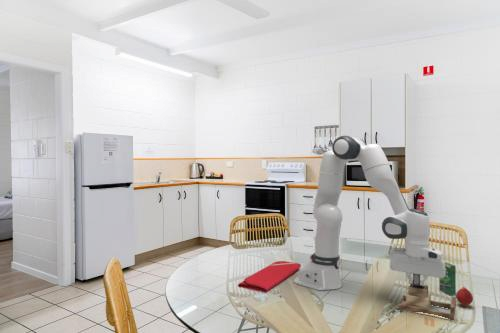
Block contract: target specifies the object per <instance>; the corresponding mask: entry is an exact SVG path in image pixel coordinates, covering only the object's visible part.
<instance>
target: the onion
mask: <svg viewBox="0 0 500 333" xmlns="http://www.w3.org/2000/svg"><path fill="white" fill-rule="evenodd" d="M455 297H456V301H457V302H458V303H459V304H460V305H461V306H462V307H468V306H470V305H471V304H472V303H473V302H474V301H473V300H474V296H473V294H472V293H471V291H470V290H469V289H467V288H466V286H463V285H462V287H461V288H460V289H459V290H457V291H456V295H455Z"/></svg>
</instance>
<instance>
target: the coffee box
mask: <svg viewBox="0 0 500 333" xmlns="http://www.w3.org/2000/svg"><path fill="white" fill-rule="evenodd" d="M444 263H445V271H446V275H445V277H444V278H438V279H439V283H438V285H439V291H441V292H443V293H445V294H446V295H449V296H451V297H455V296H456V293H457V291H456V290H457V289H456V287H457V286H456V285H457V284H456V280H457V279H456V270H457V269H456V267H457V266H456V265H454V264H452V263H449V262H446V261H444Z"/></svg>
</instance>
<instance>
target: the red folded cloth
mask: <svg viewBox="0 0 500 333" xmlns="http://www.w3.org/2000/svg"><path fill="white" fill-rule="evenodd" d="M301 268H302V265H301V264H300V263H298V262H293V261H285V260H281V261H280V260H278V261H274V262H272V263H271V264H269V265H267V266H265V267H264V268H262V269H261V270H259V271H256V272H255V273H253V274H251V275H249V276H247V277H245V278H244V279H243V281H241V282H240V283H238V284H237V286H238V287H239V288H244V289H249V290H253V291H258V292H260V293H261V292H262V293H267V292H269V291H270V290H272V289H273V288H275V287H277V286H278V285H279V284H280V283H282V282H284V280H286V279H287V278H289V277H290V276H292V275H293V274H294V273H295V272H297V271H298V270H299V269H301Z"/></svg>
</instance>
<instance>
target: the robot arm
mask: <svg viewBox="0 0 500 333" xmlns="http://www.w3.org/2000/svg"><path fill="white" fill-rule="evenodd" d="M354 162H355V163H356V162H359V163H360V165H361V168H362V171H363V174H364V177H365V179H366V182H367V184H368V185H369V186H370V187H371V188H373V189H374V190H377V191H379V192H380V193H382V194H383V195H384V196H386V198H387V199H388V202H389V203H390V206H391V208H392V211H393V214H394V215H390V216H388V217H386V218H384V219H383V221H382V223H381V230H382V233H383V235H385V237H386V238H388V239H393V240H399V239H400V240H401V239H403V240H404V244H405V245H404V247H405V248H404V247H403V248H402V247H401V248H400V247H399V248H398V247H392V248H391V249H389V257H390V261H389V268H390V270H391V271H395V272H401V273H405V276H406V278H407V279H408V284H409V285H410V284H413V278H412V277H411V274H412V275H413V274H419V275H420V276H422V278H423V280H421V279H420V286H424V285H425V281H426V280H427V279H428V277H433V278H438V279H439V278H444V277H445V275H446V271H445V263H444V262H445V260H444V259H443V257H442V256H443V252H442V251H441V250H439V249H437V248H434V247H432V246H430V243H431V242H430V241H429V240H430V238H429V237H430V234H431V232H430V230H431V229H430V227H431V224H430V217H429V215H428V213H427V212H425V211H423V210H421V209H417V208H409V206H408V203H407V200H406V199H405V197H404V195H403V192H402V190H401V188H400V186H399V184H398V183H397V181H396V178H395V176H394V174H393V171H392V169H391V166H390V163H389V161H388V158H387V155H386V154H385V152H384V150H383V149H382V147H381V146H380V145H379V144H377V143H370V144H369V143H368V144H367V143H366V142H365V141H364V140H363V139H361V138H359V137H355V136H350V135H341V136H339V137H337V138H336V139H334V140H333V143H332V146H331V150H326V151H325V152H324V153H323V156H322V159H321V163H320V167H319V173H318V174H319V176H318V183H317V191H316V195H315V200H314V204H313V210H312V212H313V218H314V219H315V220H316V231H315V237H314V252H313V254H311V255H310V257H309V259H310V262H308V263H306V264H305V265H304V266H301V267H300V270H299V273H298V276H296V277H295V278H294V280H293V283H294V284H295V285H300V286H302V287H303V286H304V287H306V288H310V289H313V290H316V291H325V290H337V289H340V288H342V287H343V284H342V279H341V274H340V267H341V259H340V257H341V256H340V253H339V252H340V249H339V248H340V244H339V242H340V235H341V234H340V233H341V227H342V221H343V214H342V211H341V209H340V208H339V207H338V203H339V199H340V197H341V194H342V191H343V183H344V182H343V180H344V173H345V172H344V171H345V165H346V164H347V163H349V164H351V163H354Z"/></svg>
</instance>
